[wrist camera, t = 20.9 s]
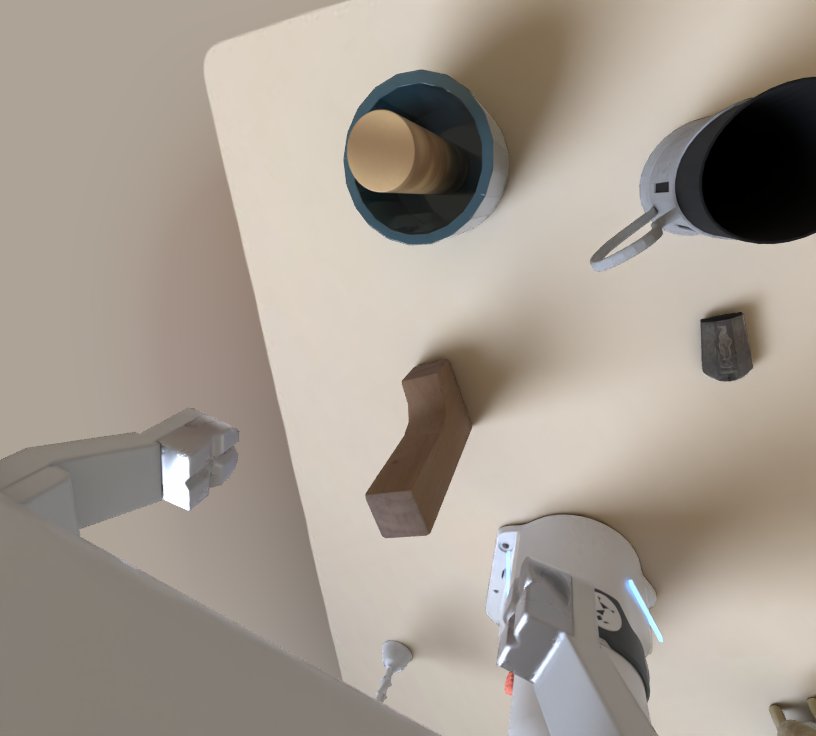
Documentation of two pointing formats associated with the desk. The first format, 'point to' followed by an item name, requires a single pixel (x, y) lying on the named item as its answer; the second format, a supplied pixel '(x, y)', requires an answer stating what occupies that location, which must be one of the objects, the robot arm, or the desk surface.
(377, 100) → the crock
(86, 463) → the robot arm
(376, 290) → the desk surface
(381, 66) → the desk surface
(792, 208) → the glass holder
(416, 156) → the rolling pin
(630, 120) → the desk surface
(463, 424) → the wooden block
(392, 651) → the chalice
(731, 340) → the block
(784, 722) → the toy sheep
